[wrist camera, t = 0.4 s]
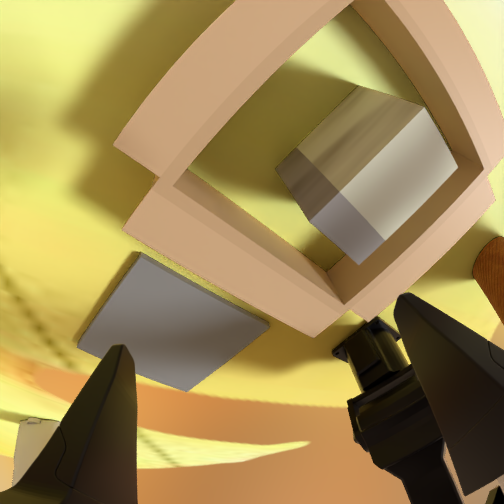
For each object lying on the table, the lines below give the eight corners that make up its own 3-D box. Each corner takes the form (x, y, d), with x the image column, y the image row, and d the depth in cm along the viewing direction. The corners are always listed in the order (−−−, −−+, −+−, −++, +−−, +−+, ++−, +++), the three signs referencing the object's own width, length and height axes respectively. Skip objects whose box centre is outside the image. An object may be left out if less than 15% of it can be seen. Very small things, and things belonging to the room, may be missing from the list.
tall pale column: (54, 416, 35) (44, 555, 17) (71, 428, 37) (66, 559, 19) (11, 417, 35) (-4, 537, 17) (27, 429, 37) (17, 544, 19)
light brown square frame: (489, 152, 22) (519, 170, 19) (320, 316, 30) (334, 349, 26) (335, -73, 11) (364, -91, 8) (95, 174, 18) (77, 201, 15)
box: (394, 130, 20) (458, 167, 14) (317, 206, 23) (358, 265, 17) (358, 85, 18) (424, 107, 12) (274, 168, 21) (309, 221, 15)
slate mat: (268, 322, 29) (269, 327, 28) (186, 387, 33) (186, 392, 33) (141, 252, 22) (140, 256, 22) (77, 342, 27) (76, 347, 26)
